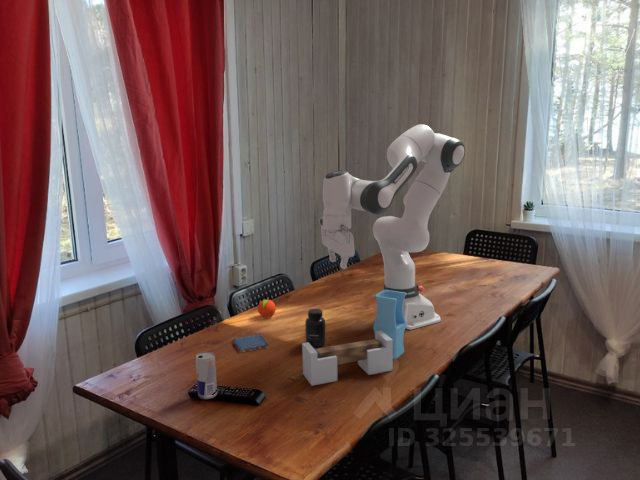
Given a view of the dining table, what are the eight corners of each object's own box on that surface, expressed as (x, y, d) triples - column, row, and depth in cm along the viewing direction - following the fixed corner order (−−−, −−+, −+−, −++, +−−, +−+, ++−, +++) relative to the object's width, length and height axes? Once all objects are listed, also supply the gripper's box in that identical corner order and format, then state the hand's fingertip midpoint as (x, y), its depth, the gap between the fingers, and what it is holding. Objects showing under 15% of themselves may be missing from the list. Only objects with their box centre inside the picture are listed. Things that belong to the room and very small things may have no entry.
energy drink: (199, 391, 163) (196, 352, 160) (218, 389, 163) (215, 351, 160) (197, 400, 157) (193, 360, 155) (216, 399, 158) (213, 359, 155)
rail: (375, 352, 176) (375, 338, 175) (380, 356, 173) (380, 342, 172) (314, 363, 170) (314, 349, 169) (318, 367, 166) (318, 353, 165)
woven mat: (231, 343, 197) (231, 338, 197) (260, 338, 201) (260, 333, 200) (238, 355, 188) (238, 349, 187) (269, 349, 191) (269, 343, 191)
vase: (395, 359, 180) (396, 299, 175) (373, 354, 184) (373, 295, 180) (405, 350, 186) (406, 292, 182) (384, 346, 190) (384, 289, 186)
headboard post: (381, 359, 180) (381, 330, 178) (392, 370, 172) (392, 339, 170) (357, 364, 177) (357, 334, 175) (368, 374, 170) (368, 343, 168)
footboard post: (328, 369, 174) (327, 339, 172) (337, 380, 167) (336, 349, 164) (303, 374, 171) (302, 343, 169) (311, 385, 164) (310, 353, 162)
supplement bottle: (311, 349, 189) (310, 315, 186) (302, 342, 195) (301, 309, 192) (329, 345, 192) (328, 312, 189) (320, 338, 198) (319, 306, 195)
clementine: (272, 321, 215) (271, 303, 214) (255, 320, 217) (254, 303, 215) (278, 314, 223) (277, 297, 222) (261, 313, 224) (260, 296, 223)
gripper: (359, 227, 171) (360, 271, 174) (335, 216, 190) (336, 256, 193) (340, 229, 169) (340, 274, 172) (317, 218, 188) (318, 258, 191)
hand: (338, 264), depth 182 cm, fingers open, 8 cm apart
